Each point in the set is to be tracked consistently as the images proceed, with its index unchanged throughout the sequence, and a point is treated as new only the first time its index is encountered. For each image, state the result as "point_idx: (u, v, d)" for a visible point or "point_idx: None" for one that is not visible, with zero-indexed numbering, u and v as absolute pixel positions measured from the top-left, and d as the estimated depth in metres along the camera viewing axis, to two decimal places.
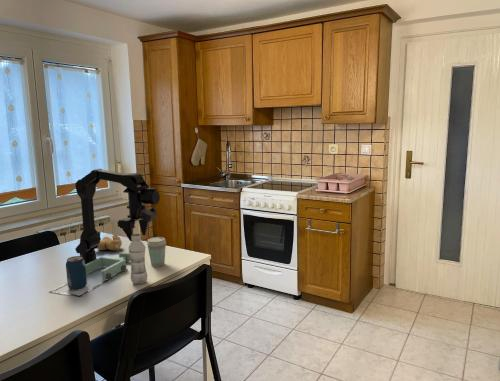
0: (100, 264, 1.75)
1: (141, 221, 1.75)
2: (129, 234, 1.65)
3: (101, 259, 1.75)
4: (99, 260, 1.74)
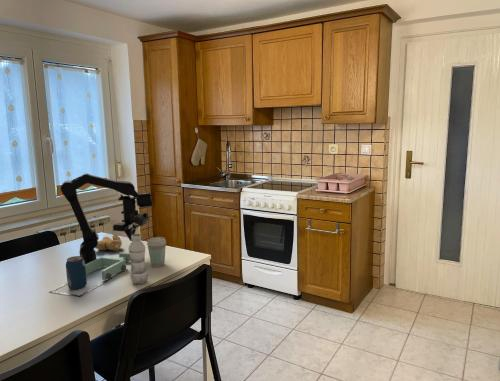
0: (100, 264, 1.75)
1: None
2: (129, 234, 1.85)
3: (101, 259, 1.75)
4: (99, 260, 1.74)
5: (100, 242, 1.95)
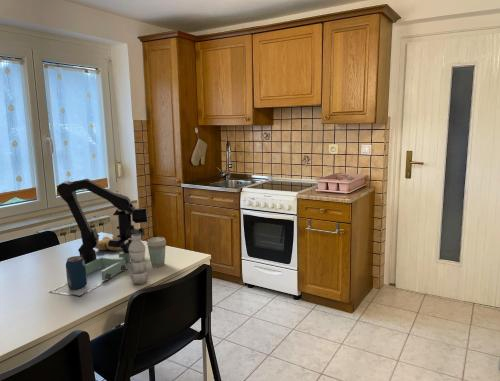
0: (100, 264, 1.75)
1: None
2: (125, 250, 1.83)
3: (101, 259, 1.75)
4: (99, 260, 1.74)
5: (100, 242, 1.95)
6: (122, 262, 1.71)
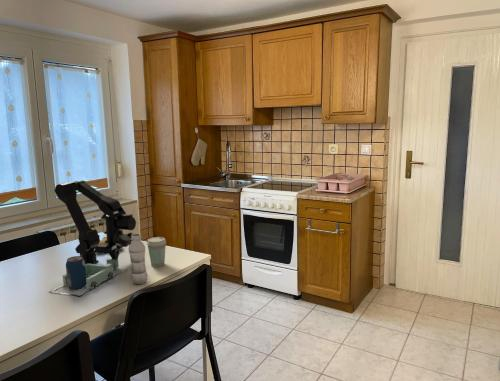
0: (86, 271, 1.67)
1: None
2: (113, 256, 1.75)
3: (87, 266, 1.67)
4: (85, 267, 1.66)
5: (100, 242, 1.95)
6: (109, 269, 1.63)
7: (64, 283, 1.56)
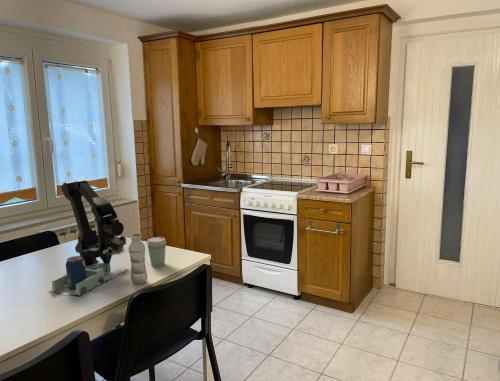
0: None
1: None
2: (105, 260, 1.70)
3: None
4: None
5: None
6: (100, 274, 1.58)
7: (53, 289, 1.51)
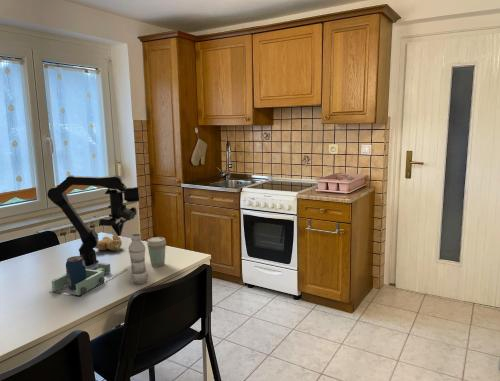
0: None
1: None
2: (117, 229, 1.81)
3: None
4: None
5: (100, 242, 1.95)
6: (100, 274, 1.58)
7: (53, 289, 1.51)
